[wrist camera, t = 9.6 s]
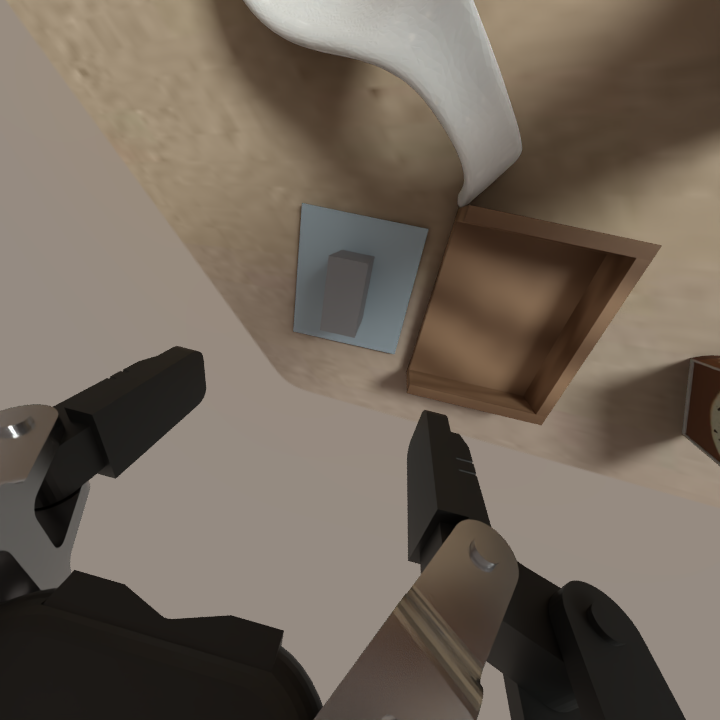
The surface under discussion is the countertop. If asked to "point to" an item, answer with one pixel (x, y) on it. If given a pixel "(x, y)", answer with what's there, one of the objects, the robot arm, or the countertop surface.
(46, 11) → the countertop surface
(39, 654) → the robot arm
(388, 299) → the cover plate
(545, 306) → the open-fronted box
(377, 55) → the spoon rest
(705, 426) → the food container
